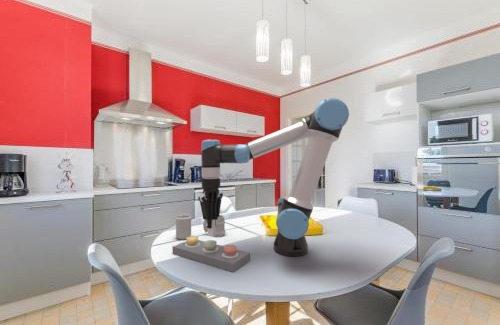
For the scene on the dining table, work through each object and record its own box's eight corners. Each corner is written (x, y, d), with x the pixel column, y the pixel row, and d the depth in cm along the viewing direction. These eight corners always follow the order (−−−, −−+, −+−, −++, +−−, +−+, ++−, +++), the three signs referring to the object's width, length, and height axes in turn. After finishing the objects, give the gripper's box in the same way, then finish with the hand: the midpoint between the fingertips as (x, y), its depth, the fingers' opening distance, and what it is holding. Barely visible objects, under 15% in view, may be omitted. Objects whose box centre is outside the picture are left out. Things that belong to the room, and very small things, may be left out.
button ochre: (200, 241, 103) (200, 237, 103) (192, 245, 99) (192, 240, 99) (192, 239, 105) (192, 235, 105) (183, 243, 101) (184, 238, 101)
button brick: (239, 251, 92) (239, 246, 92) (231, 255, 88) (231, 250, 88) (228, 248, 95) (228, 243, 95) (221, 252, 91) (221, 247, 91)
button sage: (218, 246, 98) (219, 241, 98) (211, 250, 93) (211, 245, 93) (209, 244, 100) (209, 239, 100) (201, 247, 96) (201, 242, 96)
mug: (224, 237, 122) (225, 214, 122) (201, 237, 121) (201, 213, 121) (225, 232, 129) (226, 210, 129) (204, 232, 129) (204, 210, 129)
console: (250, 260, 94) (250, 252, 94) (232, 272, 84) (232, 263, 84) (193, 245, 110) (193, 238, 110) (172, 253, 100) (172, 246, 100)
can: (183, 241, 115) (183, 216, 115) (172, 238, 119) (172, 214, 119) (194, 237, 121) (194, 213, 121) (184, 234, 125) (184, 211, 125)
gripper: (214, 176, 104) (214, 230, 104) (192, 178, 93) (193, 238, 93) (227, 177, 100) (228, 232, 100) (207, 179, 89) (207, 241, 89)
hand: (211, 235), depth 97 cm, fingers closed
